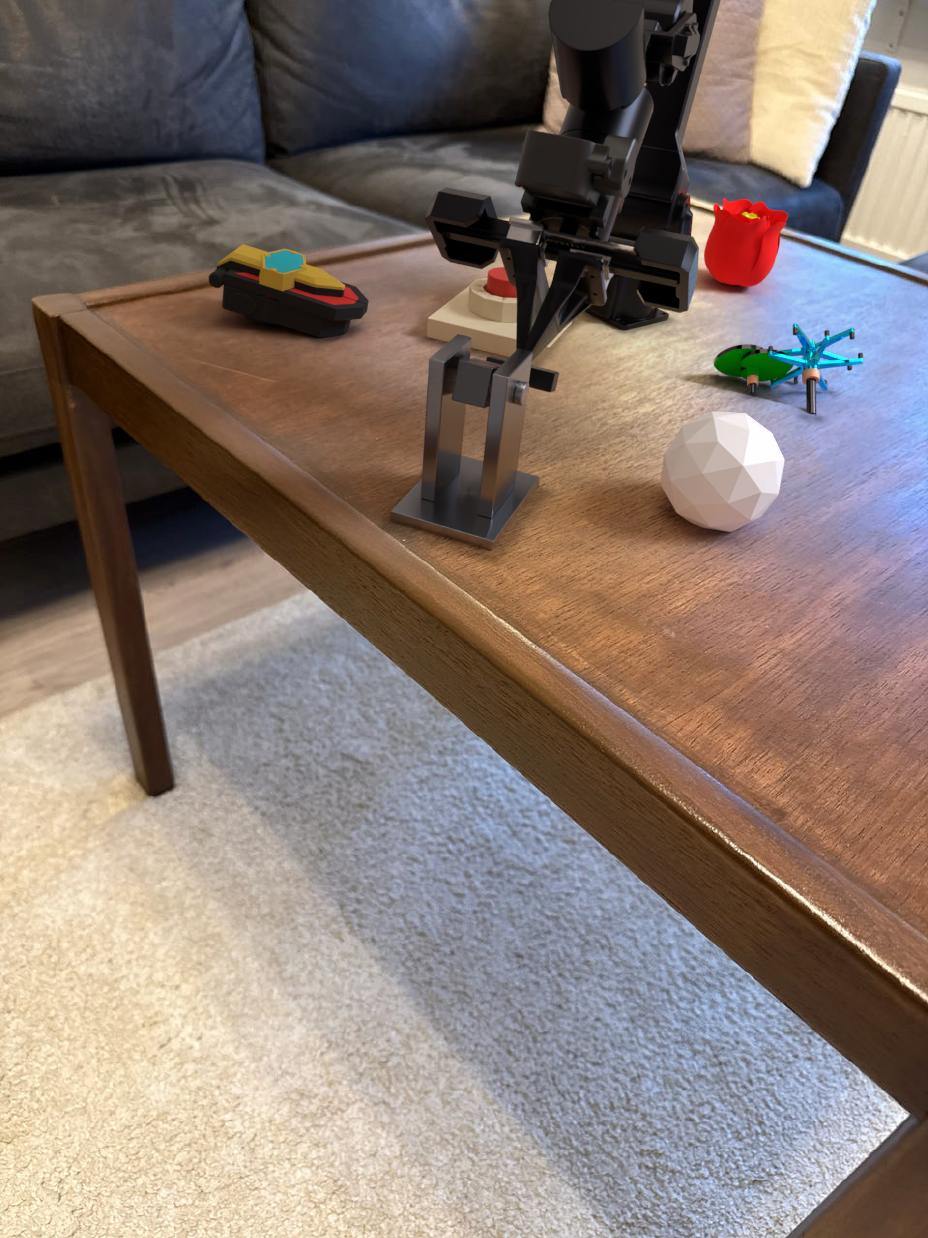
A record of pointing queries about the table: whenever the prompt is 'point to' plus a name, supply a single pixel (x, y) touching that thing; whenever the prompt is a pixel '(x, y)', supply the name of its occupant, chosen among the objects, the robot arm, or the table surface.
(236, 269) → the gadget
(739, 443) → the geometric ball
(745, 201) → the flower
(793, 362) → the stick construction toy
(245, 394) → the table surface
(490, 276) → the button
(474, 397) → the press lever
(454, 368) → the grey metal stand
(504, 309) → the control box
